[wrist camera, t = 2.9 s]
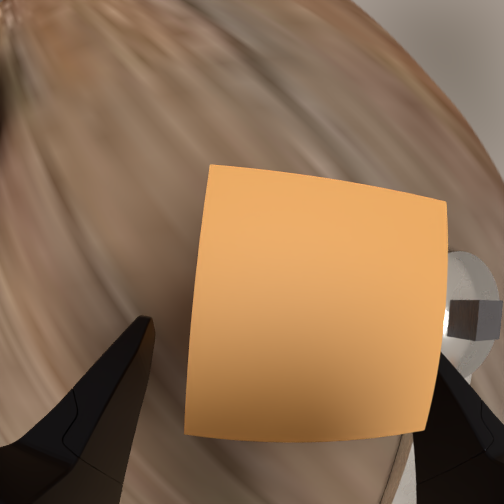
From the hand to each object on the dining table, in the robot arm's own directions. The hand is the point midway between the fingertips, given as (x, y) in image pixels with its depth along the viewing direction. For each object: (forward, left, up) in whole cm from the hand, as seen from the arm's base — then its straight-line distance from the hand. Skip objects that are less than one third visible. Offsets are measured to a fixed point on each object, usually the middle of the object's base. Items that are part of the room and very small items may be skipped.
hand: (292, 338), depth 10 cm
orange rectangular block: (+1, 0, -9) cm, 9 cm away
